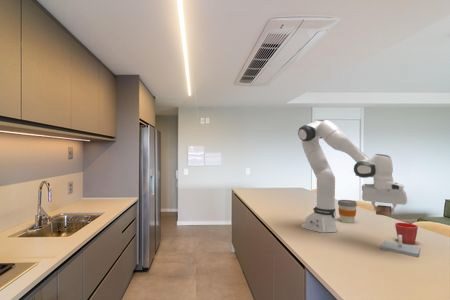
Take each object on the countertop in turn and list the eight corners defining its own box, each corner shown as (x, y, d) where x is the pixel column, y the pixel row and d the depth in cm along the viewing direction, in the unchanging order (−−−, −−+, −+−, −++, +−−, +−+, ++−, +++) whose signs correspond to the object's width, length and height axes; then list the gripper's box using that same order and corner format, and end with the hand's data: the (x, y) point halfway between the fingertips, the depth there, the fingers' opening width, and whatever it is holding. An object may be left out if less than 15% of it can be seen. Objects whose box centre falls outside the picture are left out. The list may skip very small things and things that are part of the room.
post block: (380, 248, 135) (380, 234, 135) (384, 243, 144) (384, 229, 144) (418, 257, 124) (418, 241, 124) (420, 250, 133) (420, 235, 134)
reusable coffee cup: (360, 224, 183) (360, 203, 183) (342, 223, 183) (342, 202, 183) (351, 219, 195) (351, 199, 196) (335, 219, 196) (335, 199, 196)
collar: (376, 214, 135) (375, 206, 135) (378, 212, 139) (378, 205, 139) (389, 216, 131) (389, 208, 131) (391, 214, 135) (391, 206, 135)
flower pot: (390, 239, 149) (390, 223, 150) (403, 237, 153) (403, 221, 153) (409, 246, 139) (409, 228, 140) (422, 243, 143) (422, 226, 143)
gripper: (360, 184, 140) (360, 209, 140) (405, 186, 126) (406, 214, 126) (363, 183, 145) (363, 207, 144) (407, 185, 131) (408, 212, 131)
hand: (383, 211), depth 135 cm, fingers closed on collar, 6 cm apart
